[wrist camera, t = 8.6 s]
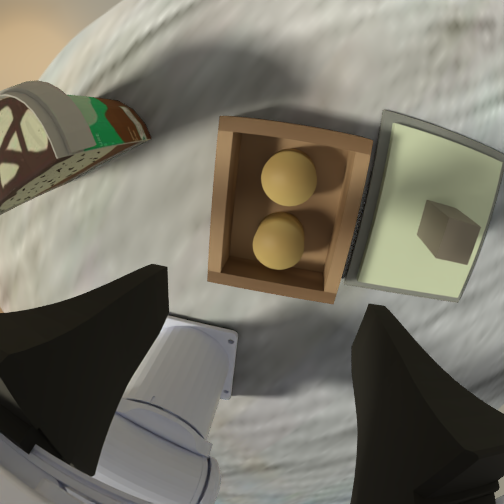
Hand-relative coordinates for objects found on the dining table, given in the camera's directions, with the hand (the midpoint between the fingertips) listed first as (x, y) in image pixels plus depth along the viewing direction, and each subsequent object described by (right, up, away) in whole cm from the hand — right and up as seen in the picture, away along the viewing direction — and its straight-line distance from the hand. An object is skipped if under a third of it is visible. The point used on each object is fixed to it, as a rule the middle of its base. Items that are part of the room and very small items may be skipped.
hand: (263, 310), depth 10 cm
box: (+2, +5, +9) cm, 10 cm away
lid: (+12, +4, +7) cm, 14 cm away
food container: (-12, +11, +9) cm, 19 cm away
